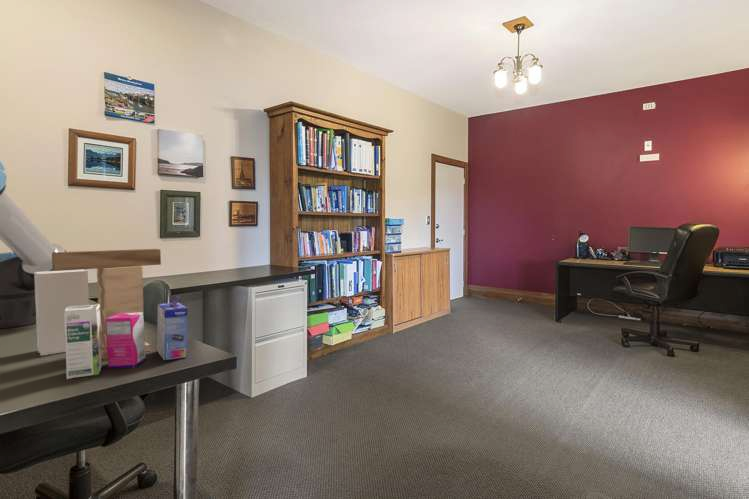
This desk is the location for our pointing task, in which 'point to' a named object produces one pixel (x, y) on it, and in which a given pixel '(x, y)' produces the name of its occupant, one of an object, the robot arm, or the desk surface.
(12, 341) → the desk surface
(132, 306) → the stand
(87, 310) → the syrup box
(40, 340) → the pedestal
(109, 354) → the supplement box
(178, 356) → the ink cartridge box
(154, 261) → the rail
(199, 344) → the desk surface
